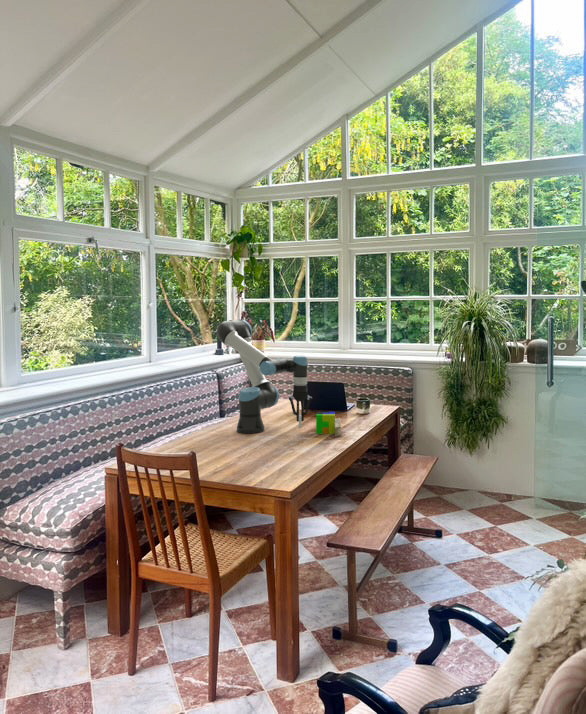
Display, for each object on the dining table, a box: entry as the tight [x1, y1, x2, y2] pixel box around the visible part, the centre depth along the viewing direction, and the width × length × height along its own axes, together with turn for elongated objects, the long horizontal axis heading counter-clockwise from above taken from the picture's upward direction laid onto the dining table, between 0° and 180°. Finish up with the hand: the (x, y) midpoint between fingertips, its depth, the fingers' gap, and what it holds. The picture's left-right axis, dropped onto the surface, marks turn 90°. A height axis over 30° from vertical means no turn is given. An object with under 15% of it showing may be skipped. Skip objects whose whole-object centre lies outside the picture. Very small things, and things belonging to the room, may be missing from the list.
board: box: [334, 417, 342, 437], centre depth 337 cm, size 3×22×5 cm, turn 176°
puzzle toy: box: [315, 411, 336, 435], centre depth 338 cm, size 10×10×10 cm
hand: (300, 427), depth 339 cm, fingers closed
